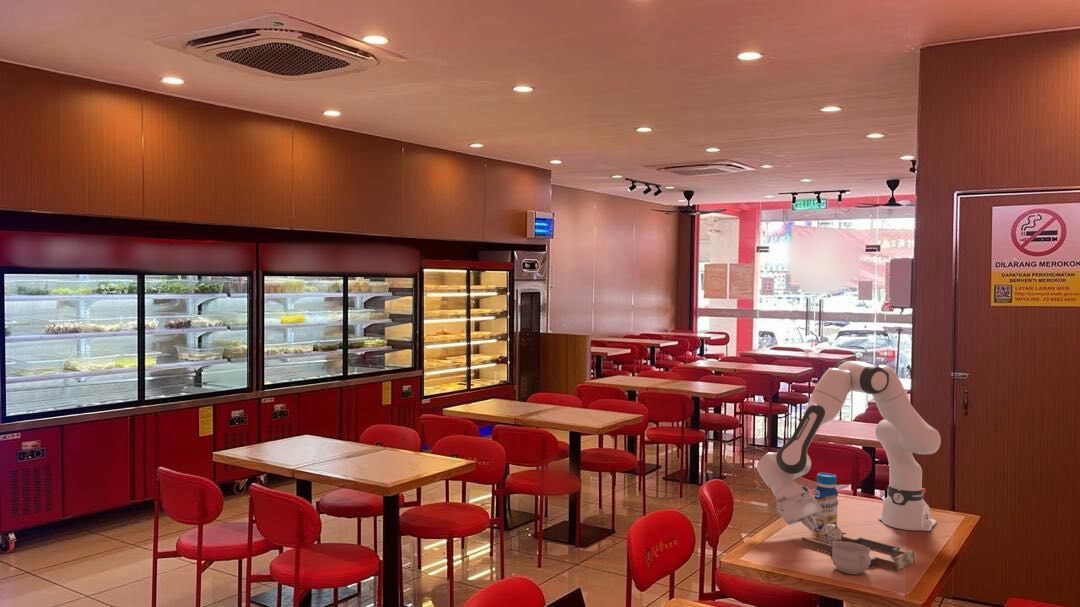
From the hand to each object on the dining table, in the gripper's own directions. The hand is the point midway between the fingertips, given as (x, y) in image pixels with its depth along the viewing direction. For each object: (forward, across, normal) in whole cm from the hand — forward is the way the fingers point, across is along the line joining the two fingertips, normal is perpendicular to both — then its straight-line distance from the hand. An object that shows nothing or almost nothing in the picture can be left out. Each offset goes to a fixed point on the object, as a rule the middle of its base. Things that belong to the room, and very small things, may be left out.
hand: (814, 529), depth 276 cm
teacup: (+19, -20, -13) cm, 30 cm away
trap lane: (+14, 0, -8) cm, 15 cm away
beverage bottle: (0, +17, +7) cm, 19 cm away
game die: (+7, 0, -1) cm, 7 cm away
